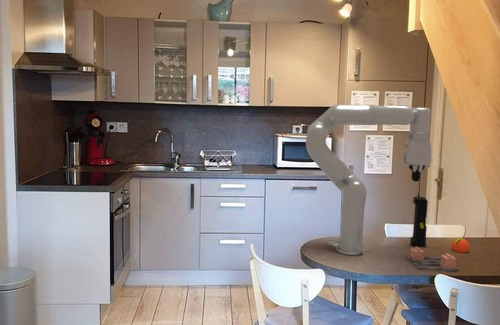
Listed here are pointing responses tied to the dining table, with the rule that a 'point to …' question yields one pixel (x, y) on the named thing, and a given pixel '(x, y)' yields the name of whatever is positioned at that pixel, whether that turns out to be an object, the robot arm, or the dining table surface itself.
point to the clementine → (460, 245)
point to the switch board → (431, 264)
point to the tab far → (417, 254)
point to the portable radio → (419, 222)
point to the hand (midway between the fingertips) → (415, 180)
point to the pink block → (447, 261)
